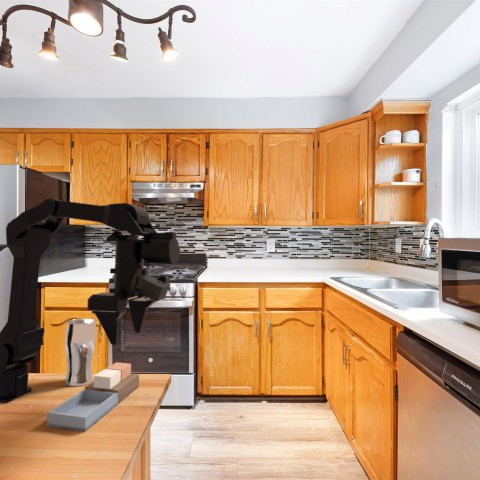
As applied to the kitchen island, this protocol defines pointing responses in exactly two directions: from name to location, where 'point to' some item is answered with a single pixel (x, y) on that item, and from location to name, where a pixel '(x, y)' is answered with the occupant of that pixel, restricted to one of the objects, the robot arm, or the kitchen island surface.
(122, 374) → the terracotta tile
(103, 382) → the cream tile
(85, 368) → the beer glass
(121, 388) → the dark walnut board
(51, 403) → the kitchen island surface
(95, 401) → the slate tray
